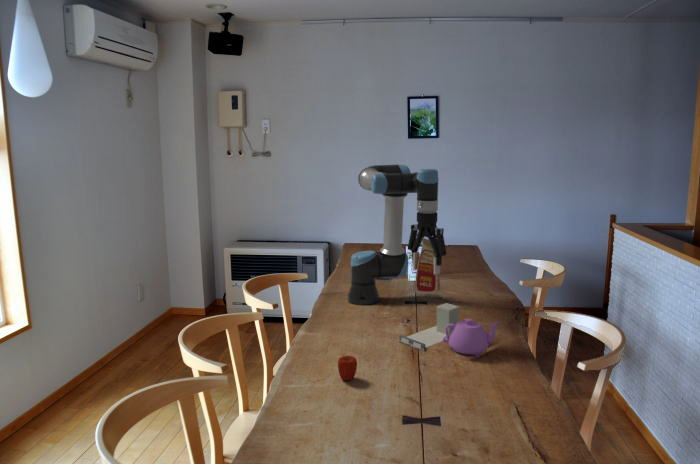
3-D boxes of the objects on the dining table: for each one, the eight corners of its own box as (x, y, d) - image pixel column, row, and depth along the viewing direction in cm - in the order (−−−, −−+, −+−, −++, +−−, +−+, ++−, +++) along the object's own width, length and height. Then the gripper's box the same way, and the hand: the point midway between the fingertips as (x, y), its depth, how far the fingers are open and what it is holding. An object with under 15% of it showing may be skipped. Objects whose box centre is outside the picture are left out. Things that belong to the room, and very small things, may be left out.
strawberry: (350, 385, 170) (350, 363, 168) (334, 380, 173) (333, 358, 172) (360, 377, 175) (360, 356, 174) (344, 373, 178) (344, 352, 177)
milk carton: (414, 292, 199) (415, 239, 196) (417, 286, 208) (418, 235, 205) (439, 294, 197) (440, 240, 194) (441, 287, 206) (442, 236, 202)
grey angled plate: (399, 342, 204) (399, 335, 204) (439, 327, 220) (439, 321, 219) (423, 351, 195) (423, 344, 195) (463, 335, 211) (464, 328, 211)
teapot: (497, 346, 199) (499, 314, 197) (500, 362, 186) (502, 327, 183) (443, 343, 203) (443, 311, 201) (442, 358, 189) (442, 324, 187)
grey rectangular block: (436, 331, 212) (436, 306, 210) (446, 327, 216) (446, 303, 214) (448, 335, 208) (449, 310, 206) (458, 331, 212) (459, 306, 210)
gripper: (398, 209, 202) (397, 267, 206) (444, 215, 186) (443, 278, 190) (411, 207, 207) (411, 264, 211) (457, 213, 191) (456, 275, 195)
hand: (426, 271), depth 200 cm, fingers closed on milk carton, 9 cm apart
